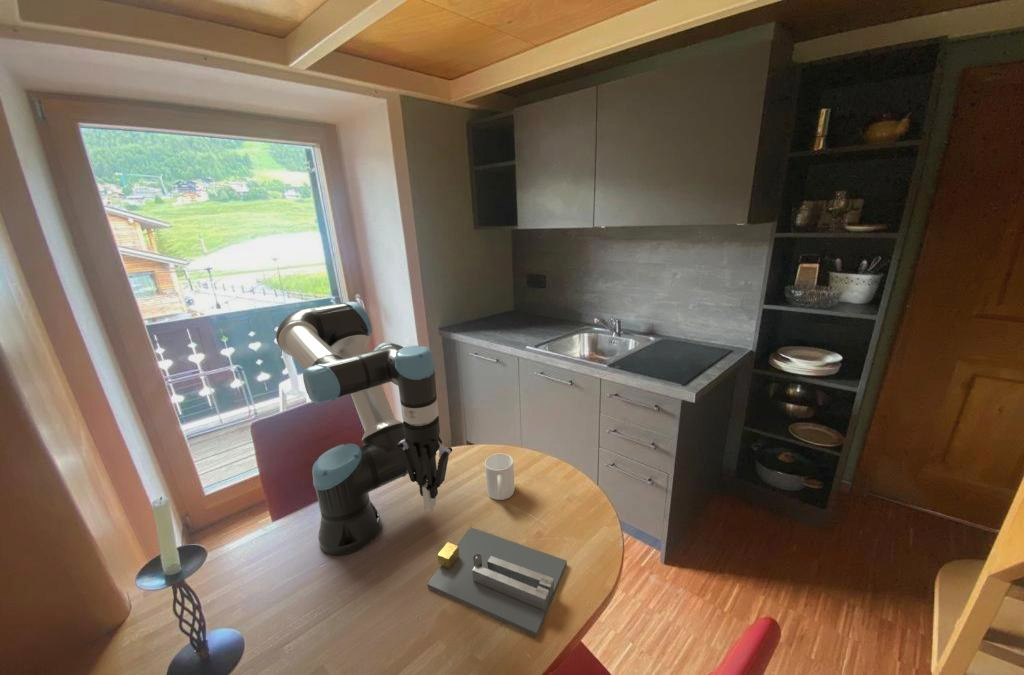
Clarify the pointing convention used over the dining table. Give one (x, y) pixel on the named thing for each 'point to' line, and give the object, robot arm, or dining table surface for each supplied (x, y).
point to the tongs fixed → (509, 585)
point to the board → (486, 599)
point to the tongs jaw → (521, 574)
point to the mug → (499, 476)
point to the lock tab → (448, 555)
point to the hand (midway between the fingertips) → (430, 506)
